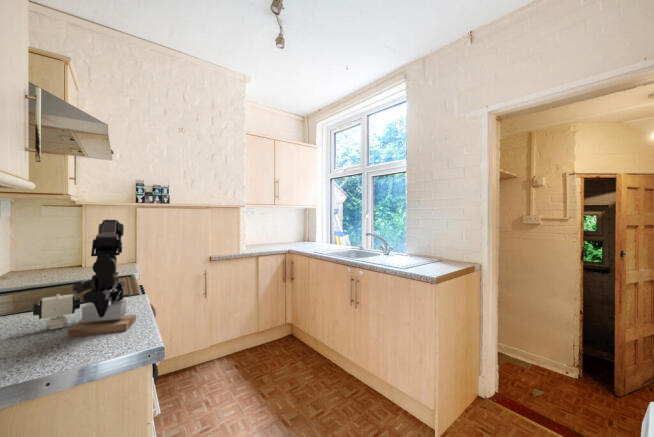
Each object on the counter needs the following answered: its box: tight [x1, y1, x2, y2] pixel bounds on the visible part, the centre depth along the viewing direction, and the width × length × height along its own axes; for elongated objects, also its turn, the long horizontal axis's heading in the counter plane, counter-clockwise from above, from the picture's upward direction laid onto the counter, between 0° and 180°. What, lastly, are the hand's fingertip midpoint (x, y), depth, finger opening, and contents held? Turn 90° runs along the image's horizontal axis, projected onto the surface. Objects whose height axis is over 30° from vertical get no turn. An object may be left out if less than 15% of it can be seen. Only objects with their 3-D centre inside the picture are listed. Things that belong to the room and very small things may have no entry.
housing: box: [81, 299, 127, 322], centre depth 95 cm, size 11×5×6 cm, turn 110°
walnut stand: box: [67, 314, 137, 338], centre depth 95 cm, size 10×16×2 cm, turn 110°
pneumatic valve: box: [32, 293, 81, 330], centre depth 95 cm, size 6×12×12 cm, turn 135°
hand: (104, 314), depth 95 cm, fingers closed on housing, 5 cm apart
